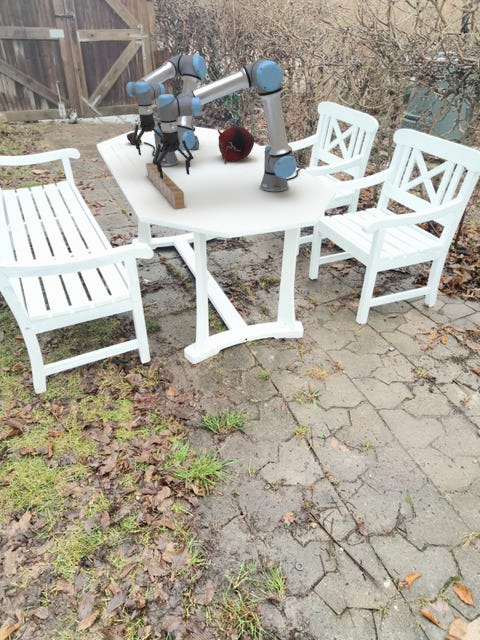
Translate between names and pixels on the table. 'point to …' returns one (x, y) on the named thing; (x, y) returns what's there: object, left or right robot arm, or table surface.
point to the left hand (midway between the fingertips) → (151, 153)
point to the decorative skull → (235, 143)
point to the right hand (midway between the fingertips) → (175, 176)
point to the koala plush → (196, 143)
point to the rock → (129, 137)
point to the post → (166, 186)
